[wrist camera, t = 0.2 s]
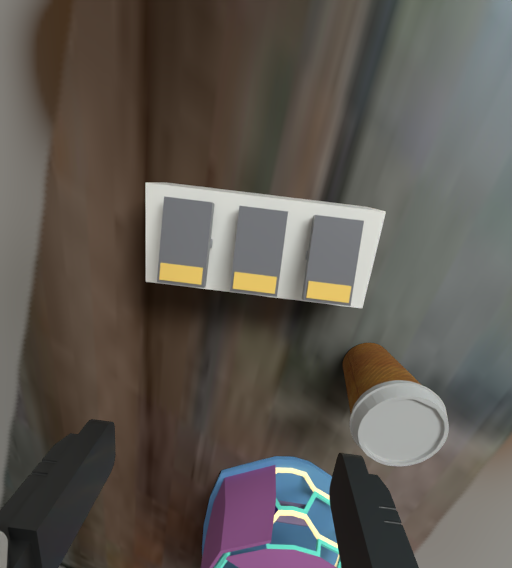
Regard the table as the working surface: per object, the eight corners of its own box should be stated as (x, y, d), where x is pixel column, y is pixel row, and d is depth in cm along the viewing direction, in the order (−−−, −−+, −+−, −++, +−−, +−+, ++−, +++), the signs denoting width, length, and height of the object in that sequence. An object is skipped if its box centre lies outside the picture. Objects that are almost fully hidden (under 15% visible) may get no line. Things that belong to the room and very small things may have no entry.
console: (165, 182, 35) (142, 182, 28) (367, 206, 35) (389, 212, 28) (164, 268, 38) (142, 286, 32) (348, 291, 38) (363, 314, 32)
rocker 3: (313, 216, 29) (315, 214, 28) (359, 221, 29) (364, 220, 28) (301, 298, 30) (303, 300, 29) (347, 304, 30) (350, 306, 29)
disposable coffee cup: (415, 372, 41) (470, 445, 30) (351, 403, 43) (380, 483, 32) (382, 318, 39) (428, 374, 28) (317, 353, 41) (334, 419, 30)
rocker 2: (240, 207, 29) (239, 205, 28) (287, 213, 29) (288, 211, 28) (231, 289, 30) (229, 291, 29) (276, 295, 30) (277, 297, 29)
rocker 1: (168, 198, 29) (163, 196, 28) (214, 204, 29) (212, 202, 28) (160, 280, 30) (156, 282, 29) (205, 286, 30) (203, 288, 29)
